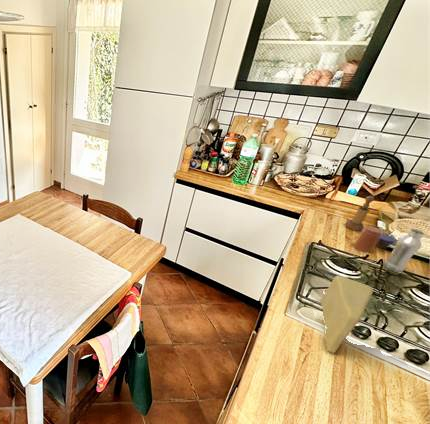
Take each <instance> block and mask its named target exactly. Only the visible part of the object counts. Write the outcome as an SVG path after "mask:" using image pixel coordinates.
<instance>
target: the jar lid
mask: <svg viewBox="0 0 430 424" xmlns="http://www.w3.org/2000/svg"><path fill="white" fill-rule="evenodd" d="M382 234H383V236H382V237H381V239H380V240H379V242H382V243H385V244H390V245H394V244H395V243H396V242H397V240H396V239H395V238H394V237H393V236H390V235H388V234H385V233H382Z"/></svg>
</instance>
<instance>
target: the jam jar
mask: <svg viewBox="0 0 430 424" xmlns="http://www.w3.org/2000/svg"><path fill="white" fill-rule="evenodd" d="M383 234H384V231H383V229H381V228H378V227H376V226H369V225H368V226H365V228H364V227H363V228H362V230H361V231H360V234H359V236H357V239H356V240H355V241H354V243H353V247H354V248H355V249H356V250H358V251H360V252H364V253H373V251H374V250H375V248H376V247H377V246H376V245H377V243H378V242H379V240H380V239H381V237H382V236H383Z"/></svg>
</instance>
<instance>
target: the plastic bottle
mask: <svg viewBox="0 0 430 424" xmlns="http://www.w3.org/2000/svg"><path fill="white" fill-rule="evenodd" d="M424 234H425V232H423V231H422V230H418V229H414V228H411V229H410V230H409V231H408V232H407V234H406V235H403V236H401V237H399V238H398V239H397V240H396V242H395V243H396V244H395V245H394V248H393V249H392V251H391V253H390V254H389V255H388V256H387V257H386V258H385V259H384V260H383V261H382V262H383V267H384V268H386V269H387V270H389V271H393V272H402V273H404V271H405V269H406V265H407V264H408V263H409V261H410V260H411V258H412V257H413V256H414V255H415V254H416V253H417V252H418V251H419V250H420V249H421V248H422V241H421V239H422V238H423V237H424Z"/></svg>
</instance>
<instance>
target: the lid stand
mask: <svg viewBox="0 0 430 424" xmlns="http://www.w3.org/2000/svg"><path fill="white" fill-rule="evenodd" d="M390 245H391V244H385V243H382V242H378V243H377V245H376V247H377V248H379V249H383V250H386V249H388V248H389V247H390ZM387 246H388V247H387Z"/></svg>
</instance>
